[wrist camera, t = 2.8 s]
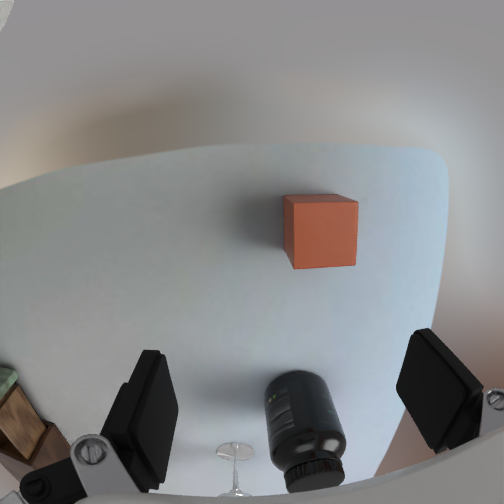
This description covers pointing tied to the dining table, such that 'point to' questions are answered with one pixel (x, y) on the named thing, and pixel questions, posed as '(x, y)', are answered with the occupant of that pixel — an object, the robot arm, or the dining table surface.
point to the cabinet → (38, 453)
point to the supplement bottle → (304, 432)
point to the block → (320, 230)
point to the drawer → (17, 419)
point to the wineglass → (235, 464)
